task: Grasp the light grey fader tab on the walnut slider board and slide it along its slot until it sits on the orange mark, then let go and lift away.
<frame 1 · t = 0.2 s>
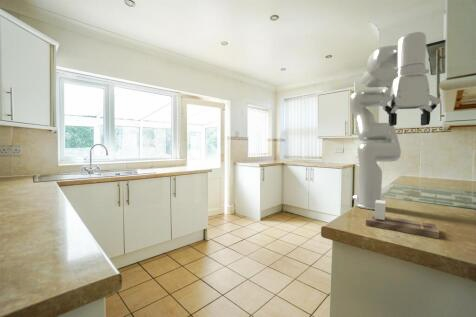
hand: (408, 125, 74), 36 cm above the countertop, tool pointing down, fingers open, 9 cm apart
fader board: (399, 227, 79), on the countertop
fader tab: (380, 209, 82), point 6 cm above the countertop, slide at -6.0 cm
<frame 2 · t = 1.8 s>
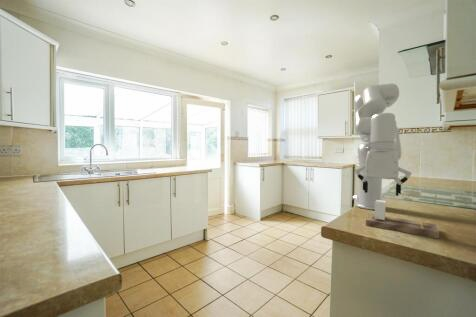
hand: (381, 193, 81), 12 cm above the countertop, tool pointing down, fingers open, 9 cm apart
nothing on the countertop moved.
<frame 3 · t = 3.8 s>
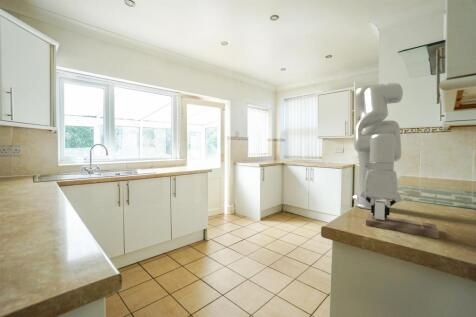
hand: (380, 215, 82), 3 cm above the countertop, tool pointing down, fingers closed on fader tab, 3 cm apart
fader tab: (380, 209, 82), point 6 cm above the countertop, slide at -6.0 cm, touching gripper
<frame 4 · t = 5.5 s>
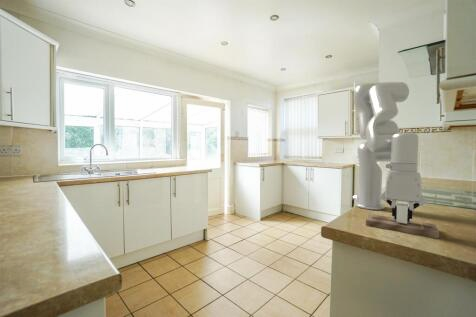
hand: (401, 219, 78), 3 cm above the countertop, tool pointing down, fingers closed on fader tab, 3 cm apart
fader tab: (402, 212, 78), point 5 cm above the countertop, slide at 0.6 cm, touching gripper
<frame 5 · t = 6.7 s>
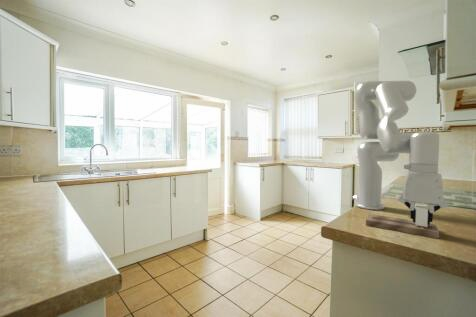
hand: (421, 222, 75), 3 cm above the countertop, tool pointing down, fingers closed on fader tab, 3 cm apart
fader tab: (421, 215, 75), point 6 cm above the countertop, slide at 5.8 cm, touching gripper
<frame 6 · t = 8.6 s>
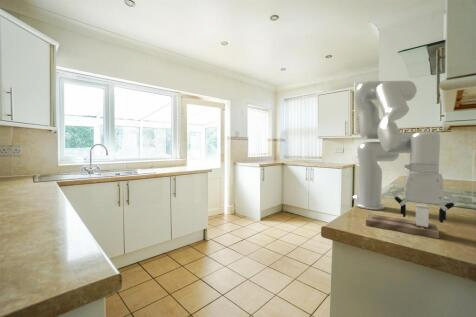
hand: (421, 218, 75), 4 cm above the countertop, tool pointing down, fingers open, 9 cm apart
fader tab: (421, 215, 75), point 6 cm above the countertop, slide at 6.0 cm
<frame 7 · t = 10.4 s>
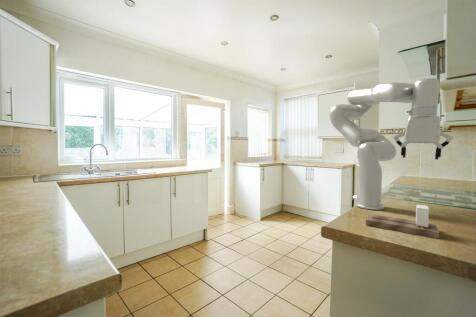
hand: (419, 158, 84), 24 cm above the countertop, tool pointing down, fingers open, 9 cm apart
nothing on the countertop moved.
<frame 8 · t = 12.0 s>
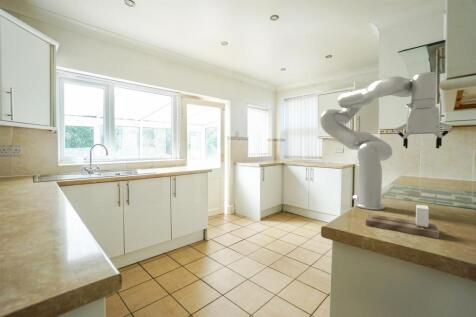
hand: (421, 148, 88), 28 cm above the countertop, tool pointing down, fingers open, 9 cm apart
nothing on the countertop moved.
at the end: fader tab slide at 6.0 cm; the gripper is holding nothing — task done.
